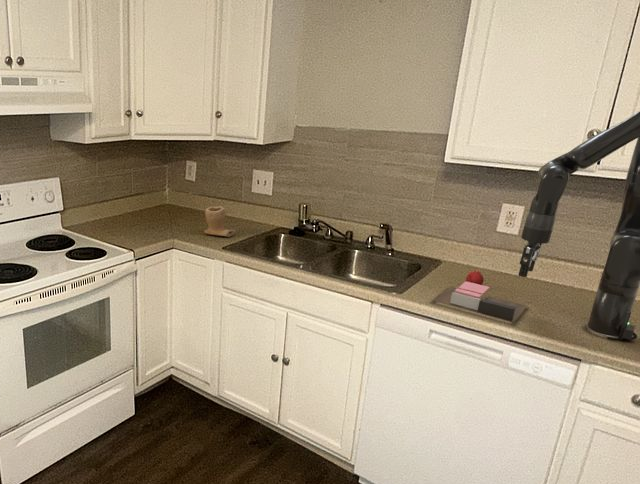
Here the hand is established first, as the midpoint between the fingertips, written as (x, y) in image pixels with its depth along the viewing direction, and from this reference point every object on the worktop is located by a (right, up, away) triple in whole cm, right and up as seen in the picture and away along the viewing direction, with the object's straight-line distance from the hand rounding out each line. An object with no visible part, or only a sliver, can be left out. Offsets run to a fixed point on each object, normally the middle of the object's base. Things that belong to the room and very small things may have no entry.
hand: (525, 273), depth 171 cm
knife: (-10, -13, +8) cm, 18 cm away
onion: (+1, -7, +30) cm, 31 cm away
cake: (-6, -10, +19) cm, 22 cm away
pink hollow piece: (-91, +15, +98) cm, 134 cm away
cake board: (-7, -12, +14) cm, 20 cm away
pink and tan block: (-11, -11, +14) cm, 21 cm away
